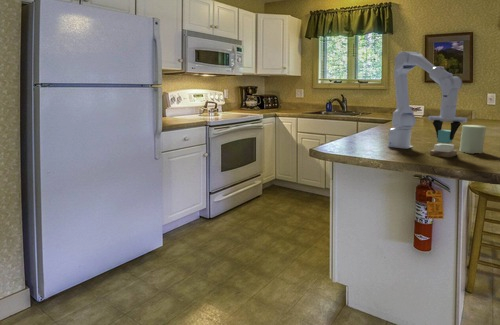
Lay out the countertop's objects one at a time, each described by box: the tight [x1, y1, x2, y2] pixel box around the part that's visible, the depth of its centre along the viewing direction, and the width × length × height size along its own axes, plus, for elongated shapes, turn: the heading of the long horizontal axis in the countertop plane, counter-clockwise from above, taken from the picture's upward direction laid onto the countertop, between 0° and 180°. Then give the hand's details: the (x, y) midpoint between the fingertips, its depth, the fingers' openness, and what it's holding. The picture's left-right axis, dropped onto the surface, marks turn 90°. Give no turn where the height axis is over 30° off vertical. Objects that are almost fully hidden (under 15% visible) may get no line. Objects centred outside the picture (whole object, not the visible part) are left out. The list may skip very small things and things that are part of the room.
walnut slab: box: [429, 149, 458, 158], centre depth 157 cm, size 8×8×2 cm
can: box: [459, 124, 487, 154], centre depth 163 cm, size 9×9×12 cm
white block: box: [433, 142, 455, 152], centre depth 156 cm, size 6×6×2 cm
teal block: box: [436, 129, 453, 144], centre depth 155 cm, size 4×4×5 cm
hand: (445, 138), depth 155 cm, fingers closed on teal block, 4 cm apart
